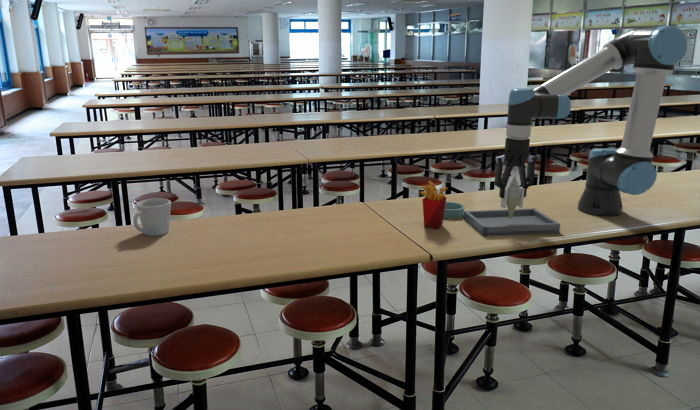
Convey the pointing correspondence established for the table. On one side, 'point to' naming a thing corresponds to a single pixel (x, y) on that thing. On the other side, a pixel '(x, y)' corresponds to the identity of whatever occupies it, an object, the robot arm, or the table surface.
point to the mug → (153, 216)
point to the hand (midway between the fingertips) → (511, 206)
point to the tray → (511, 222)
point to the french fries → (433, 206)
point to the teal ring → (453, 210)
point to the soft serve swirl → (513, 196)
